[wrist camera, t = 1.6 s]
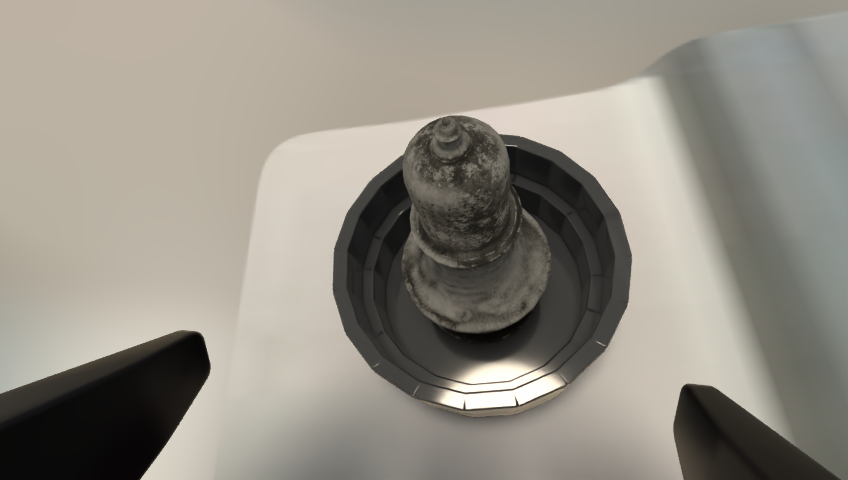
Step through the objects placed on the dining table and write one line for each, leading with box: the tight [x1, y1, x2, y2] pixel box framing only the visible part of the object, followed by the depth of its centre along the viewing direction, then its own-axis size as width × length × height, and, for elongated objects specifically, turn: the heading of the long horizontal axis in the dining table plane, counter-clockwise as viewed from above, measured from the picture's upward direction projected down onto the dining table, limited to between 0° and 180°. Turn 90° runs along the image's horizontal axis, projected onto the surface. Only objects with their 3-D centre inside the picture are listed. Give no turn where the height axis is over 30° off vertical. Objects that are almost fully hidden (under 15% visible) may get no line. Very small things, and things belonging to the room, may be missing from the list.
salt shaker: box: [401, 116, 551, 344], centre depth 15 cm, size 6×6×12 cm
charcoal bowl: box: [333, 134, 632, 417], centre depth 19 cm, size 11×11×4 cm
